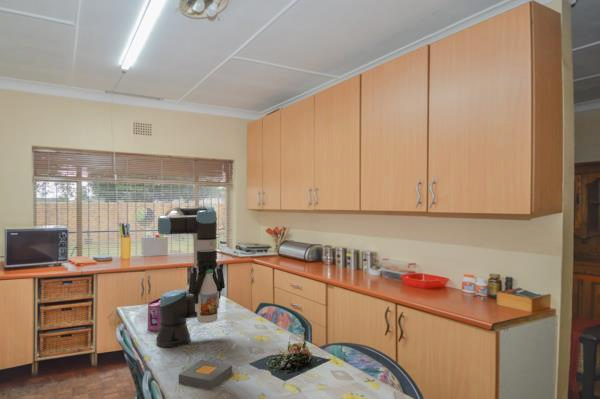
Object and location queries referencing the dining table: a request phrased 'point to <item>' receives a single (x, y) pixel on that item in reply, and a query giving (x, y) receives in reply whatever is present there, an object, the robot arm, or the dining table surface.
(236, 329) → the dining table surface
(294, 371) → the plated dish
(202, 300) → the milk bottle
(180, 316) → the robot arm
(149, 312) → the gum box
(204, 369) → the button
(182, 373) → the grey square slab
